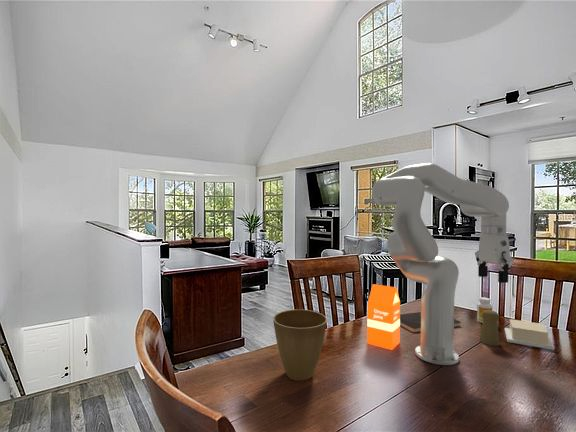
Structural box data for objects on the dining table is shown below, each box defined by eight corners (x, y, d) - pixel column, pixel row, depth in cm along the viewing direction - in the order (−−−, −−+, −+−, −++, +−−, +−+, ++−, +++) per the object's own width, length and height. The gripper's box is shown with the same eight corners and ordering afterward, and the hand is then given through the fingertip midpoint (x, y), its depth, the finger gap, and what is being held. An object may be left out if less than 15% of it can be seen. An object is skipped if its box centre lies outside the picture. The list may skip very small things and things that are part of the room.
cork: (494, 339, 118) (494, 308, 117) (503, 346, 112) (504, 314, 111) (476, 338, 118) (476, 308, 118) (484, 345, 112) (485, 313, 112)
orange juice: (392, 350, 108) (392, 289, 107) (366, 343, 113) (367, 285, 113) (400, 342, 114) (400, 285, 114) (375, 336, 119) (376, 282, 119)
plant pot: (266, 366, 96) (266, 312, 95) (312, 359, 101) (312, 307, 101) (283, 393, 82) (283, 330, 81) (336, 383, 87) (336, 323, 87)
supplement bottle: (494, 324, 134) (495, 300, 133) (481, 323, 134) (482, 300, 134) (487, 319, 139) (487, 296, 139) (474, 319, 139) (474, 296, 139)
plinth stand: (554, 349, 109) (554, 335, 109) (507, 341, 115) (507, 327, 115) (546, 336, 120) (547, 323, 120) (504, 330, 127) (504, 317, 126)
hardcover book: (461, 327, 131) (461, 321, 131) (413, 334, 124) (413, 327, 124) (432, 315, 146) (432, 310, 146) (387, 320, 139) (387, 315, 139)
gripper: (523, 232, 106) (522, 284, 107) (485, 229, 124) (485, 274, 124) (502, 232, 106) (501, 285, 106) (467, 229, 123) (466, 274, 123)
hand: (492, 279), depth 115 cm, fingers open, 9 cm apart
